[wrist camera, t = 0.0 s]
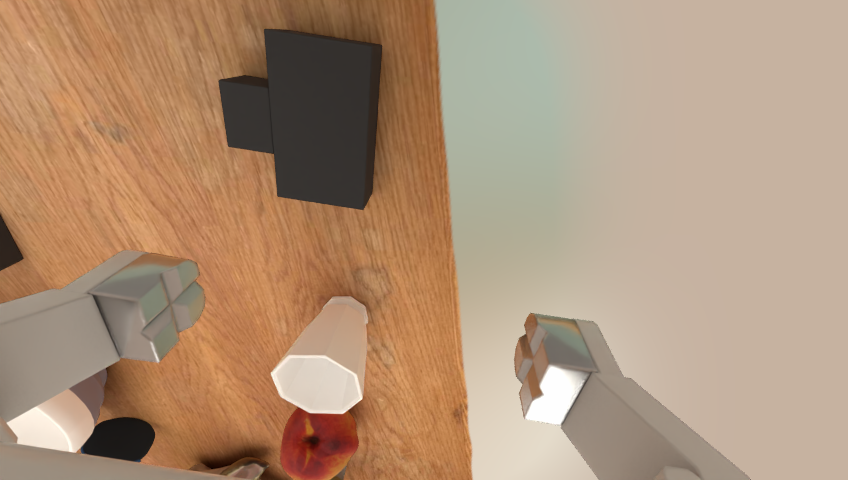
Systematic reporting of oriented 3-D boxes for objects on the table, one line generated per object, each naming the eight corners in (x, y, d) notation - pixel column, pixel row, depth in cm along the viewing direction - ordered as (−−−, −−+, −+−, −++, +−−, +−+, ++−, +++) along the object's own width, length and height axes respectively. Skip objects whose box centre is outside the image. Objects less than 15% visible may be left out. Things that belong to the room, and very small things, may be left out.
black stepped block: (238, 21, 22) (208, 19, 19) (382, 44, 22) (372, 45, 19) (255, 175, 27) (233, 190, 24) (372, 193, 27) (363, 210, 24)
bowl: (-28, 301, 36) (-136, 360, 29) (112, 322, 36) (35, 385, 29) (33, 391, 43) (-42, 454, 37) (149, 409, 43) (95, 475, 37)
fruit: (376, 398, 39) (359, 475, 32) (352, 434, 43) (332, 511, 36) (308, 373, 38) (276, 448, 31) (290, 413, 42) (257, 488, 35)
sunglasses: (165, 422, 45) (135, 466, 41) (195, 466, 54) (174, 506, 50) (29, 401, 44) (-14, 443, 40) (83, 449, 53) (52, 487, 49)
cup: (391, 297, 32) (373, 370, 25) (365, 367, 37) (345, 444, 30) (315, 273, 31) (274, 342, 24) (299, 348, 36) (262, 423, 29)
